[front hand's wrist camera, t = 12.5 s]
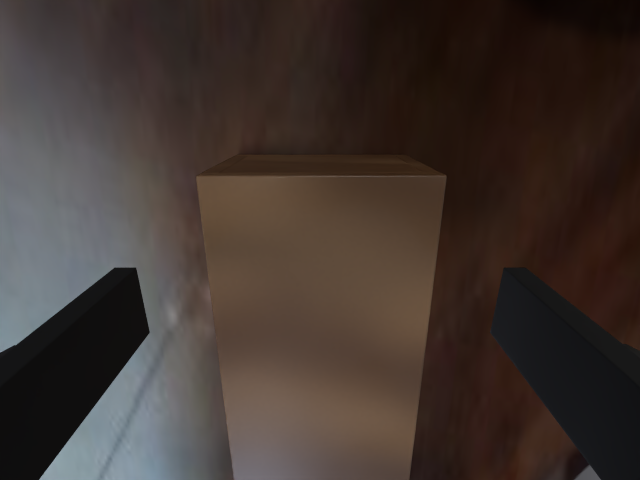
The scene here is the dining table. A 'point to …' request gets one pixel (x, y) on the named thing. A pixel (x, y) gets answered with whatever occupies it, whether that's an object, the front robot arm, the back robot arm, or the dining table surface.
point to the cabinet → (321, 309)
